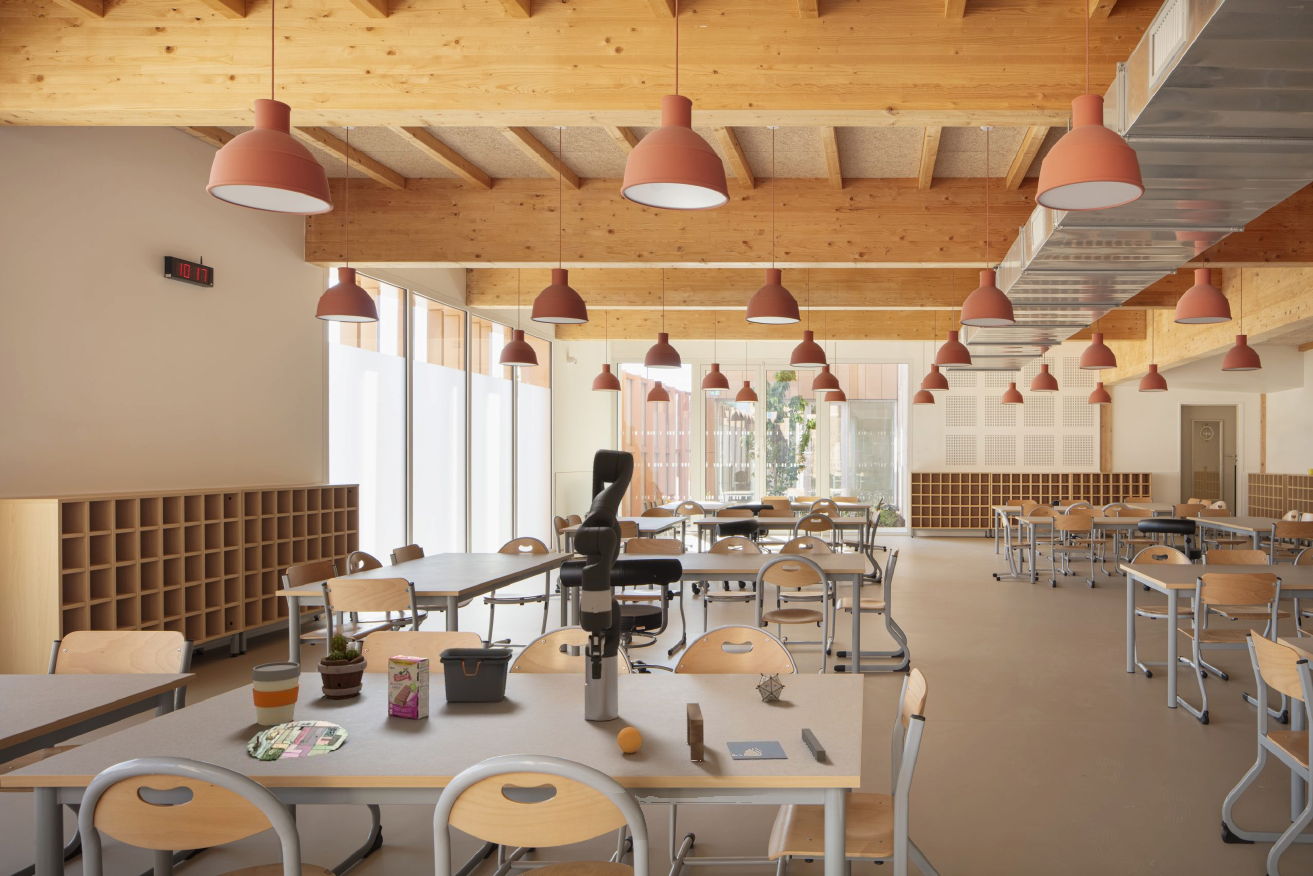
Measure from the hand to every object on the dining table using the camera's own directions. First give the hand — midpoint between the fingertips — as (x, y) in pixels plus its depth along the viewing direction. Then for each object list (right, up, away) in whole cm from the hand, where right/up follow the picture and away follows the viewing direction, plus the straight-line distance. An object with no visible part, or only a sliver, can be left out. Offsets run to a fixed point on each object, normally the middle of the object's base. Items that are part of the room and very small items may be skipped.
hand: (596, 675), depth 210 cm
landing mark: (+39, -18, 0) cm, 43 cm away
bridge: (+24, -19, -1) cm, 30 cm away
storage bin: (-40, -22, +51) cm, 68 cm away
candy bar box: (-56, -21, +33) cm, 68 cm away
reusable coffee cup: (-92, -21, +29) cm, 99 cm away
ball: (+8, -16, -1) cm, 18 cm away
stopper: (+53, -18, 0) cm, 56 cm away
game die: (+49, -21, +47) cm, 71 cm away
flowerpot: (-84, -22, +57) cm, 104 cm away
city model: (-76, -20, +6) cm, 79 cm away
